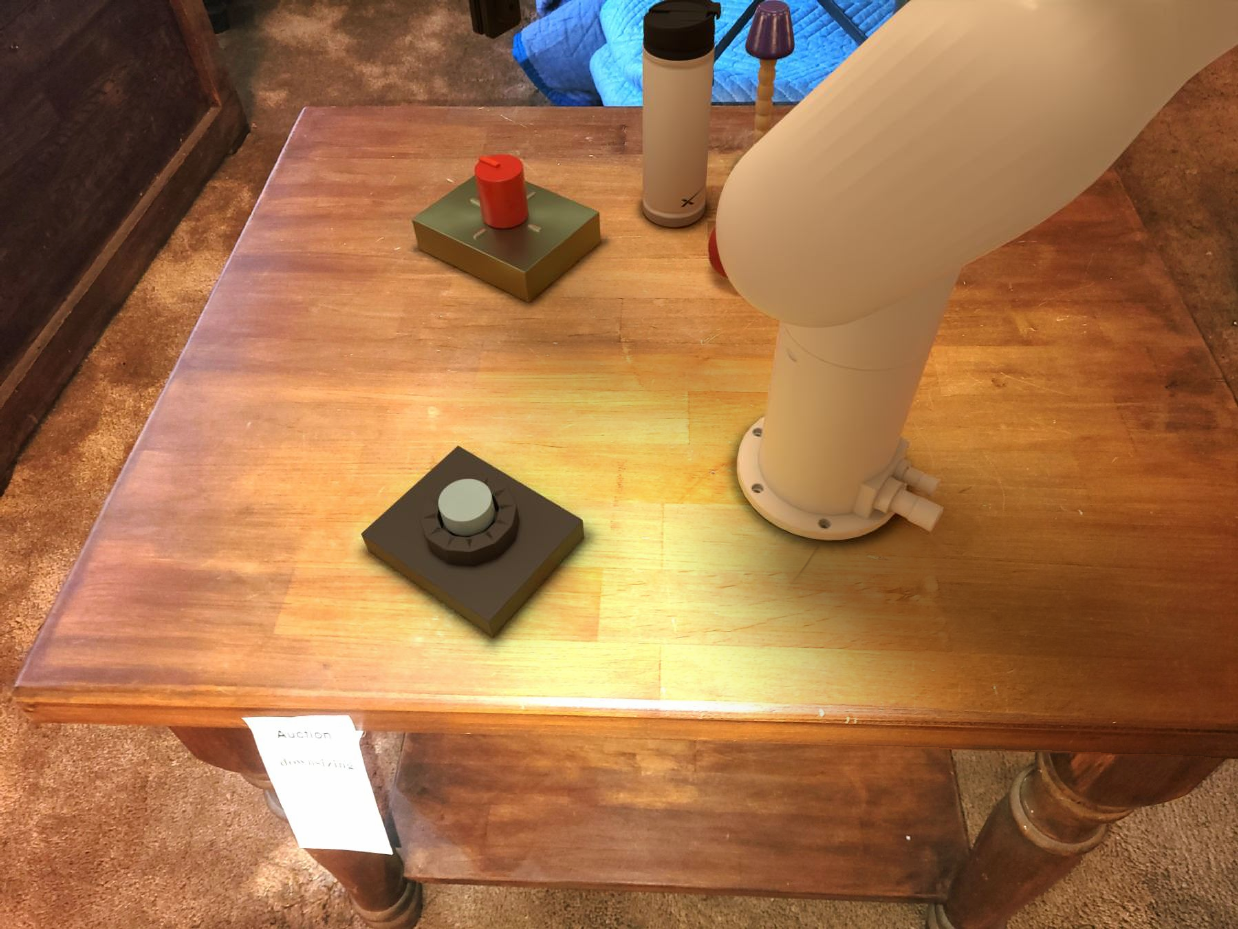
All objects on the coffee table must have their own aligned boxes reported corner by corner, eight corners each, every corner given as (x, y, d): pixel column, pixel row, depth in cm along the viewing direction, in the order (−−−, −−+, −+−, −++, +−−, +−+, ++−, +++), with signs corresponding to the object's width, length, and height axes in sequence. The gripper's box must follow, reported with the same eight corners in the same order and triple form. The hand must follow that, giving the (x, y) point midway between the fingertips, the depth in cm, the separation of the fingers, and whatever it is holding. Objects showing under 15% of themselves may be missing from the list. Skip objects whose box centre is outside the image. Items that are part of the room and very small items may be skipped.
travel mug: (703, 231, 86) (716, 23, 71) (637, 224, 87) (636, 18, 72) (712, 195, 90) (726, -10, 75) (648, 189, 91) (649, -15, 75)
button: (505, 509, 61) (502, 494, 59) (470, 545, 59) (466, 530, 58) (467, 486, 62) (463, 470, 61) (431, 519, 60) (427, 504, 59)
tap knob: (538, 211, 83) (532, 160, 79) (507, 234, 81) (500, 183, 77) (503, 195, 85) (496, 145, 81) (472, 218, 82) (463, 167, 78)
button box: (584, 537, 63) (581, 504, 60) (493, 638, 58) (484, 608, 55) (462, 463, 68) (454, 429, 65) (368, 551, 63) (353, 518, 60)
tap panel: (601, 242, 85) (599, 210, 83) (528, 303, 80) (524, 270, 77) (493, 195, 91) (488, 163, 88) (418, 249, 85) (410, 217, 83)
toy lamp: (726, 172, 93) (739, 9, 80) (748, 152, 95) (764, -10, 82) (766, 186, 91) (786, 21, 78) (787, 165, 93) (810, 2, 80)
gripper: (301, -331, 47) (381, 22, 61) (514, -300, 41) (547, 81, 55) (402, -354, 51) (455, -17, 65) (610, -329, 45) (618, 35, 59)
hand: (497, 27), depth 60 cm, fingers closed
